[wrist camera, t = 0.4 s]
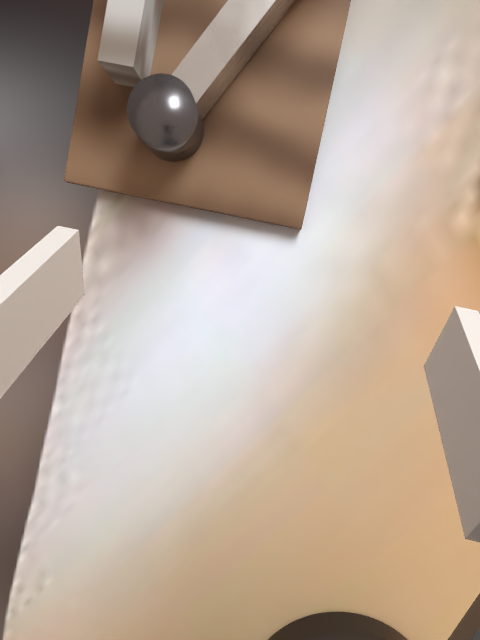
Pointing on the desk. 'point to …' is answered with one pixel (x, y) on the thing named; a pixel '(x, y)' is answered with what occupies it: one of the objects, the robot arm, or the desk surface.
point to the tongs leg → (200, 78)
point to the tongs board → (221, 121)
